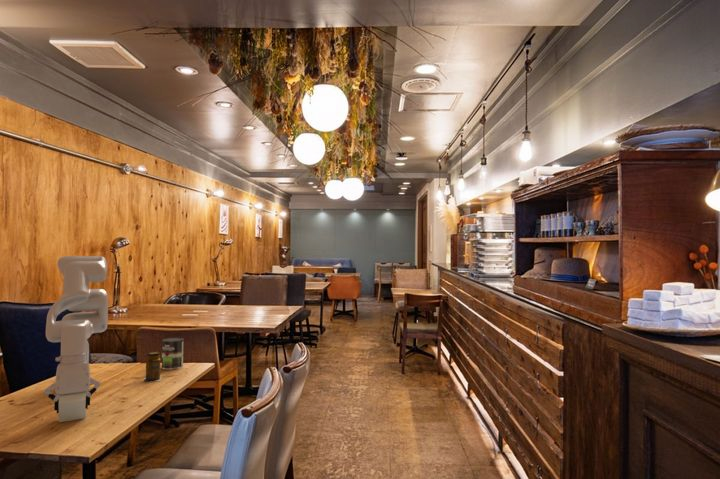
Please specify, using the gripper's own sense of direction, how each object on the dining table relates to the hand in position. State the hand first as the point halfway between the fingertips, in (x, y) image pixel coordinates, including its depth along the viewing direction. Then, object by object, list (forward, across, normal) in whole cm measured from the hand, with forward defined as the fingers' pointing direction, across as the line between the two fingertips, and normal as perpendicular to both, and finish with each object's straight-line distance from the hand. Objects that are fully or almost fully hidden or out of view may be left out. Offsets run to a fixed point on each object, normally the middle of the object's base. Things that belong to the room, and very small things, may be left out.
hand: (72, 409), depth 155 cm
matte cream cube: (+2, 0, +3) cm, 3 cm away
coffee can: (+4, +41, +59) cm, 72 cm away
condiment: (+4, +30, +40) cm, 50 cm away
